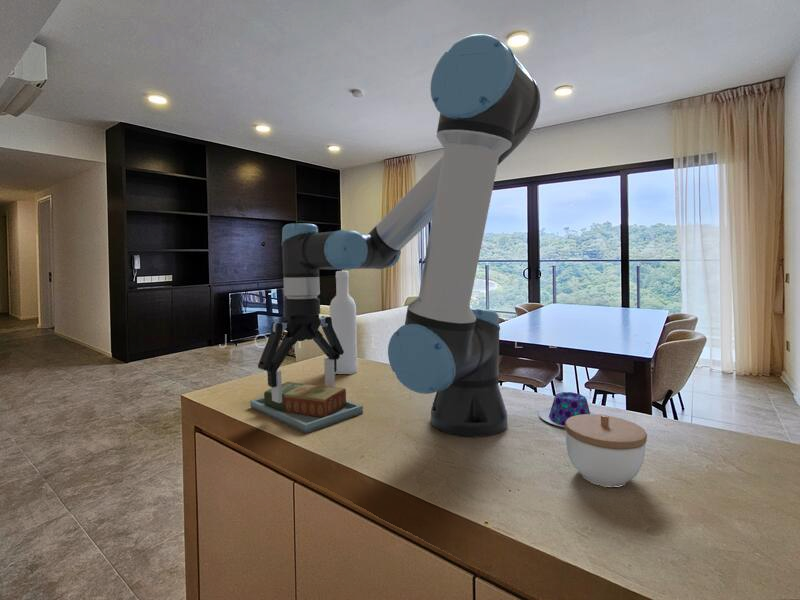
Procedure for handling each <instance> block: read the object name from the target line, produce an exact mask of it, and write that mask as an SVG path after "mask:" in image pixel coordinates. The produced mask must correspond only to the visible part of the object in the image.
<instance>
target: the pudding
mask: <svg viewBox="0 0 800 600" xmlns="http://www.w3.org/2000/svg"><path fill="white" fill-rule="evenodd" d="M583 414H595V413H593V412H590V407H589V403H588V399H587V397H586V396H584V395H582V394H580V393H578V392H577V393H575V392H571V391H569V392H568V391H567V392H566V391H562V392H559V393H556V394H555V395H554V398H553V401H552V404H551V407H548V408H544V409H542V410H540V411H539V413H538V415H539V417H540V419H542V420H543V421H545V422H547V423H548V424H552V425H554V426H558V427H561V428H565V423H566V420H567V419H568V418H570V417H572V416H576V415H583Z"/></svg>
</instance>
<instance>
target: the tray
mask: <svg viewBox="0 0 800 600" xmlns="http://www.w3.org/2000/svg"><path fill="white" fill-rule="evenodd" d="M249 405H250V407H251V408H250V409H252V410H254V409H255V410H254V411H256V410H257V412H258V411H259V412H258V413H260V414H262V415H265V416H268V417H269V418H271V419H273V420H276V421H278V422H280V423H282V424H284V425H286V426H289V427H291V428H293V429H295V430H297V431H300V432H301V433H303V434H308V433H311V432H314V431H316V430H319V429H322V428H325V427H327V426H328V427H329V426H330V425H331V426H332V425H333V424H337V423H339V422H341V421H345V420H347V419H351V418H353V417H356V416H358V415H362V414H364V413H363V411H364V407H363V406H364V405H362V404H358V403H355V402H353V401H349V400H347V399H346V406H345V407H343V408H342V409H340V410H338V411H336V412H335V413H333V414H331V415H329V416H327V417H324V418H323V417H316V416H309V415H303V414H296V413H289V412H283V411H277V410H275V409H273V408H270V407H268V406H266V405H265V404H264V396H263V397H260V398H259V397H258V398H256V399H251V400H250V401H249Z"/></svg>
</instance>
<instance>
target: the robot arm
mask: <svg viewBox="0 0 800 600" xmlns="http://www.w3.org/2000/svg"><path fill="white" fill-rule="evenodd" d="M431 75H432V76H431V80H430V96H431V101H432V102H433V104H434V107H435V108H436V110H437V112H439V117H438V124H437V130H436V138H437V140H438V141H439V142H440V144H441V147H443V154H442V156H441V157H440V159H438V160H437V162H435V164H434V165H433V166H432V167H431V168H430V169H429V170H428V171H427V172H426V173H425V174H424V175H422V177H421V178H420V179H419V180H418V181H417V183H416V184H415V185H413V186H412V188H411V189H410V190H409V191H408V192H407V193H406V194H405V195H404V196H403V197H402V198H401V199H400V201H399V202H397V204H396V205H394V207H393V208H392V209H391V210H390V211H389V212H388V213H387V214H386V215H384V217H383V218H382V219H381V221H379V222H378V223H377V224H376V225H375V226H374V227H373V228H372V229H371V231H369V232H368V233H360V232H359V231H355V230H349V229H346V230H344V229H338V230H335V231H326V232H325V231H324V232H319V228H318V226H317V225H316V224H313V223H301V222H300V223H287V224H285V225H284V226H283V227H282V229H281V232H282V235H281V244H280V245H281V250H282V251H281V252H282V255H281V256H282V275H283V276H282V277H283V295H284V296H285V297H286V298H284V300H283V308H284V309H283V310H284V312H283V314H284V316H285V321H284V322H277V321H273V322H271V324H270V325H271V326H270V334H269V337H268V340H267V341H266V344H265V346H264V349H263V352H262V354H261V357H260V360H259V361H258V364H257V367H258V369H259V370H263V371H265V372H266V373H267V386H269V387H270V388H271V389H272V401H275V402H277V403H282V384H283V383H282V371H281V370H279V368H280V366H281V365H282V363H283V362H284V360H285V359H286V357H287V355H288V354H289V352H290V351H291V349H292V348H293V347H294V345H296V344H297V342H303V341H305V340H308V341H309V340H310V341H311V340H313V341H314V343H315V344H316V345H317V346H318V347H319V348H320V349H321V351H322V352H323V353H324V354H325V356H326V357H324V363H323V365H324V366H323V367H324V386H328V387H336V386H335V385H336V380H335V379H336V377H335V375H336V374H335V373H334V372H336V370H337V366H336V365H337V364H336V359H339V358H340V355H342V354H343V353H344V351H343V349H342V346H341V344H340V342H339V340H338V338H337V335H336V333H335V331H334V329H333V327H332V319H331V317H330V316H325V315H322V316H321V317H320V315H321V299H320V298H319V297H318V296H319V295H320V294H321V289H320V288H321V287H320V285H321V282H320V270H338V271H349V270H359V269H360V270H361V269H364V270H365V269H366V270H367V269H374V270H375V269H376V270H383V269H387V268H392V267H393V266H395V265H396V264H398V262H399V260H400V257H401V253H402V252H401V251H402V249H403V248H404V247H405V246H406V245H407V244H408V243H409V242H411V240H413V239H414V237H416V236H417V235H418V234H419V233H420V232H421V231H422V230H423V229H424V228H426V227H427V225H429V223H430V222H431V225H430V228H429V234H428V239H427V241H428V242H427V245H426V253H425V259H424V264H423V270H422V275H421V280H420V281H421V282H420V286H419V287H420V288H419V293H418V296H417V298H416V299H414V300H413V301H411V302H410V303H408V305H407V308H406V315H405V320H404V321H405V322H404V324H403V325H401V326H400V327H399V328H398V329H397V330H396V331H395V332H394V333H393V334H392V335H391V337H390V339H389V343H388V345H387V357H388V362H389V366H390V367H391V370H392V372H393V373H394V374H395V375H396V379H397V380H398V382H400V383H401V384H402V385H403V386H404V387H406V389H409V390H410V391H412V392H414V393H418V394H422V395H429V394H430V395H431V394H434V393H436V394H435V396H434V399H433V402H432V406H431V408H430V423H431V425H432V426H433V427H434V428H435V429H438V430H439V431H442V432H444V433H447V434H451V435H453V436H454V435H456V436H459V437H488V436H491V435H492V436H493V435H496V434H499V433H501V432H503V431H504V430H505V429H507V427H508V411H507V409H506V406H505V403H504V402H505V401H504V398H503V396H502V393H501V389H500V385H499V373H500V371H499V369H500V367H499V366H500V364H499V363H500V330H501V326H500V319H499V318H500V317H499V314H498V313H497V312H496V311H495V310H492V309H480V308H471V306H470V305H471V300H472V295H473V290H474V285H475V280H476V276H477V275H476V274H477V270H478V265H479V260H480V259H479V258H480V254H481V251H482V245H483V241H484V240H483V239H484V235H485V229H486V224H487V219H488V214H489V210H490V204H491V198H492V194H493V189H494V185H495V184H494V183H495V180H496V179H495V178H496V176H497V175H496V174H497V168H498V166H499V165H500V164H501V163H502V162H503V161H505V159H506V158H508V156H510V155H511V154H512V153H513V152H514V150H515V149H517V147H519V146H520V144H521V143H522V142H523V141H525V139H526V138H527V136H529V133H530V132H531V131H532V129H533V127H534V125H535V124H536V121H537V119H538V118H539V113H540V109H541V92H540V90H539V89H540V88H539V86H538V84H537V82H536V80H535V78H534V77H533V76H532V75H531V74H530V73H529V72H528V71H527V70H526V68H525V67H524V66H523V65H522V63H521V62H520V61H519V60H518V59H517V57H516V56H515V54H514V53H513V50H512V49H511V48H510V47H509V46H508V45H506V44H505V43H503V42H502V41H500V40H499V39H498V38H497V37H494V36H492V35H489V34H484V33H478V34H477V33H476V34H471V35H468V36H466V37H464V38H461V39H460V40H457V41H456V42H455V43H453V45H452V46H451V47H450V49H448V51H444V53H443V55H442V56H441V57H440V59H439V60H438V62H437V63H436V65H435V67H434V70H433V73H432V74H431ZM320 326H321V328H322V331H323V333H324V335H323V334H322V333H321V331H320V330H319V329H320ZM285 331H286V333H285V334H284V336H283V333H284V332H285ZM282 336H283V338H282ZM324 336H325V337H324ZM325 338H326V339H325ZM281 340H282V341H281ZM280 341H281V343H280ZM279 344H280V345H279Z"/></svg>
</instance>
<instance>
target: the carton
mask: <svg viewBox="0 0 800 600" xmlns="http://www.w3.org/2000/svg"><path fill="white" fill-rule="evenodd" d="M263 397H264V404H265V405H266V406H268V407H270V408H273V409H275V410H277V411H283V412H289V413H296V414H303V415H309V416H316V417H323V418H324V417H327V416H329V415H331V414H333V413H335V412H336V411H338V410H340V409H342V408H343V407H345V406H346V400H347V391H346V388H344V387H336V386H335V387H328V386H325V385H319V384H317V385H316V384H308V383H300V382H292V381H286V382H284V383H282V403H277V402H275V401H272V388H270V389H268V390H265V391H264V392H263Z"/></svg>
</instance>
